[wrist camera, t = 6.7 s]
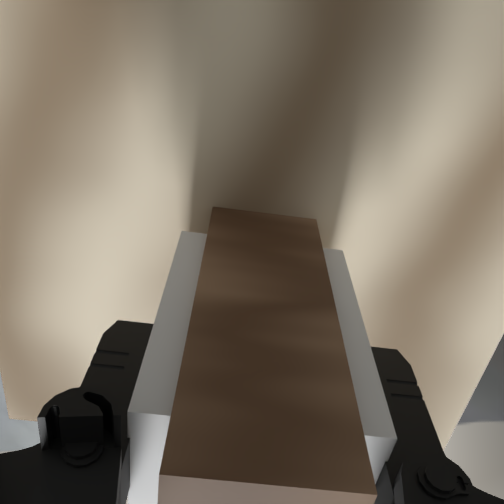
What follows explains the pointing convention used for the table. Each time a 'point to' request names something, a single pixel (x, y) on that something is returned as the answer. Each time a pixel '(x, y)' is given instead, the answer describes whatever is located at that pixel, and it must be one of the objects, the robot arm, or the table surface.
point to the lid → (254, 216)
